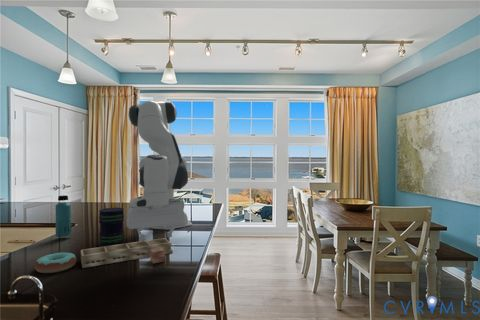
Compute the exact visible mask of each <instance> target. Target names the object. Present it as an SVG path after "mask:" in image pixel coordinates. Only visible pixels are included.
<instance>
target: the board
mask: <svg viewBox="0 0 480 320" xmlns="http://www.w3.org/2000/svg"><path fill="white" fill-rule="evenodd" d="M155 248H162V249H164V250H165V255H167V254H173V249H172V242H171V241H170V240H168V239H167V238H166V237H165V238H164V237H163V238H157V239H156V238H155V239H149V240H148V239H147V240H145V241H141V240H140V241H135V242H127V243H123V244H119V245H112V246H104V247H101V246H99V247H97V246H96V247H92V248H86V249H80V262H81V263H80V264H81V267H82V269H85V268H90V267H96V266H103V265H108V264H113V263H120V262H125V261H132V260H139V259H143V258H150V249H155Z"/></svg>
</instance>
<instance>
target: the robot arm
mask: <svg viewBox="0 0 480 320" xmlns="http://www.w3.org/2000/svg"><path fill="white" fill-rule="evenodd" d="M127 113H128V120H129V122H130V123H131V125H132V126H134V127H137V130H138V135H139V136H140V138H141V139H142V140H143V141H144V142H145V143H148V146H149V148H150V150H151V151H153V152H155V153H157V154H151V155H150V154H148V155H146V156H144V157H141V159H140V160H139V164H138V167H139V169H138V172H139V182H138V184H139V186H141V187H142V188H143V194H142V195H141V196H140V195H139V196H137V197H136V198H135V197H134V198H132V199H130V200H129V205H130V207H129V208H128V209H127V211H126V219H125V226H126V227H127V229H129V230H135V229H136V232H137V233H138V235H139V240H140V241H147V240H146V234H143V233H142V232H143V229H146V228H149V229H154V230H169V231H166V237H167V238H173V232H174V230H175V229H179V228H184V227H185V228H186V227H190V226H191V227H192V226H193V222H192V221H190V220H189V218H188V215H187V213H186V212H185V210H184V209H185V202H184V200H183V199H181V198H174V196H175V194H174V190H182V189H183V188H184V187H186V186H187V184H188V183H189V173H188V170H187V167H188V165H187V164H188V163H187V160H186V158H185V157H184V156H182V155H181V152H180V148H179V145H178V142H177V139H176V137H175V134H174V133H173V132H171V131H170V130H169V126H168V124H172V123H174V122H175V121H176V119H177V115H178V111H177V108H176V106H175V104H174V103H173V102H172V101H167V100H166V101H154V100H147V101H144V102H142V103H140V104H137V103H136V104H133V105H131V106H130V107H129V108H128V112H127Z"/></svg>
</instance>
